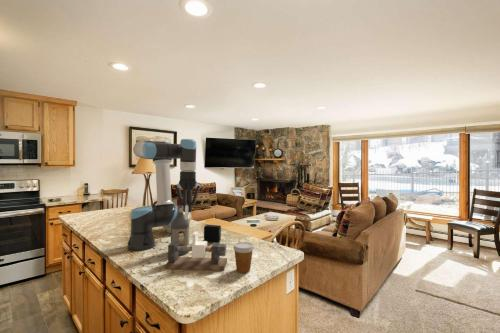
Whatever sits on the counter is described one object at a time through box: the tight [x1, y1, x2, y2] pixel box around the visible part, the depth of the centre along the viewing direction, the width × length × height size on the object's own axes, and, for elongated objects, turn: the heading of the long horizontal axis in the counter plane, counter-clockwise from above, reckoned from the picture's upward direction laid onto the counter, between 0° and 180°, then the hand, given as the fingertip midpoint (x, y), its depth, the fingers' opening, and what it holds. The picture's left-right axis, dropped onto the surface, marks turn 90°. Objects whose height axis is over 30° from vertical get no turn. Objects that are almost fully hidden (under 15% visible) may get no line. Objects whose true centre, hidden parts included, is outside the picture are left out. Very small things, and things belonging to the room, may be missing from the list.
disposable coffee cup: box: [233, 241, 254, 274], centre depth 116 cm, size 10×10×12 cm
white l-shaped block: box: [191, 230, 208, 258], centre depth 121 cm, size 6×6×11 cm
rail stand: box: [165, 241, 228, 272], centre depth 121 cm, size 28×10×10 cm, turn 87°
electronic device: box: [203, 224, 222, 244], centre depth 158 cm, size 4×10×10 cm, turn 78°
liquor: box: [170, 198, 190, 256], centre depth 138 cm, size 9×9×30 cm
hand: (187, 218), depth 121 cm, fingers closed
